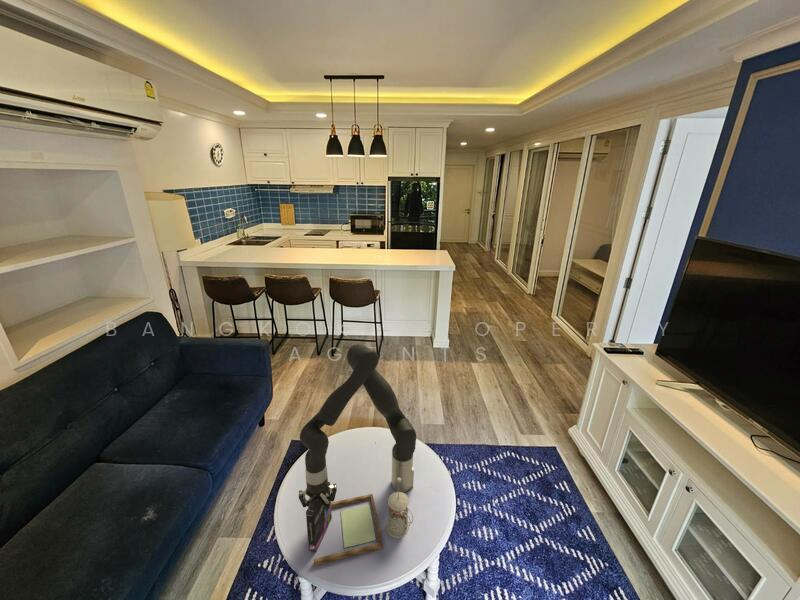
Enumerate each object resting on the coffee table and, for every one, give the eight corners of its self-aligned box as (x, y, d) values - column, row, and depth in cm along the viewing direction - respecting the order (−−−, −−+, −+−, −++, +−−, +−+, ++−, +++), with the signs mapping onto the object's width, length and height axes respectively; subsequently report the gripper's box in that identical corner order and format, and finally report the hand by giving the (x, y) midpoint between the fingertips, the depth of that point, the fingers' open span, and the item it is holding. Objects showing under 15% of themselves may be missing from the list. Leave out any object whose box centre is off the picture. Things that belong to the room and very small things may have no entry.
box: (317, 553, 120) (313, 514, 114) (308, 550, 121) (304, 511, 114) (333, 518, 133) (330, 481, 126) (325, 516, 133) (322, 479, 127)
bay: (372, 497, 142) (372, 493, 141) (382, 548, 122) (382, 544, 121) (313, 509, 136) (313, 506, 135) (314, 565, 116) (313, 562, 115)
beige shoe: (396, 510, 137) (397, 463, 128) (418, 528, 130) (421, 479, 122) (380, 528, 129) (380, 479, 121) (403, 547, 122) (404, 497, 114)
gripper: (336, 463, 122) (337, 497, 128) (296, 470, 119) (299, 505, 124) (337, 480, 116) (339, 515, 121) (295, 488, 112) (299, 524, 117)
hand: (319, 510), depth 123 cm, fingers closed on box, 5 cm apart
